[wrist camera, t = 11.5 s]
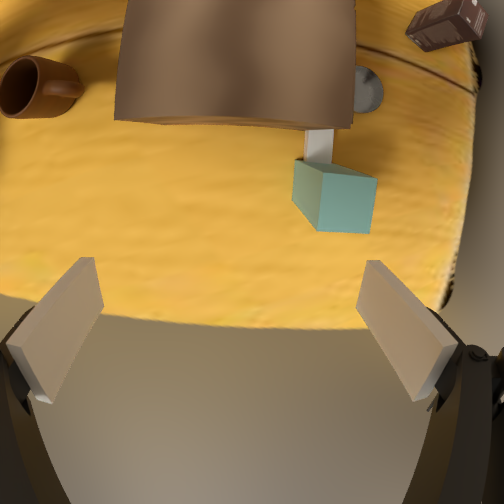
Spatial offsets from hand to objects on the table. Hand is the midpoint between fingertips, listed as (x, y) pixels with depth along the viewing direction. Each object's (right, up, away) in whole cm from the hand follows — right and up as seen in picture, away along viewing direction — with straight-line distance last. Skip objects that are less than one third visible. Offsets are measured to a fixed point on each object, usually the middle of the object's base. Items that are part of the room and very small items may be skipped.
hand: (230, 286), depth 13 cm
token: (+14, +21, +17) cm, 31 cm away
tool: (+9, +16, +19) cm, 26 cm away
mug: (-23, +22, +15) cm, 35 cm away
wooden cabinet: (-1, +24, +15) cm, 28 cm away
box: (+25, +33, +13) cm, 43 cm away
